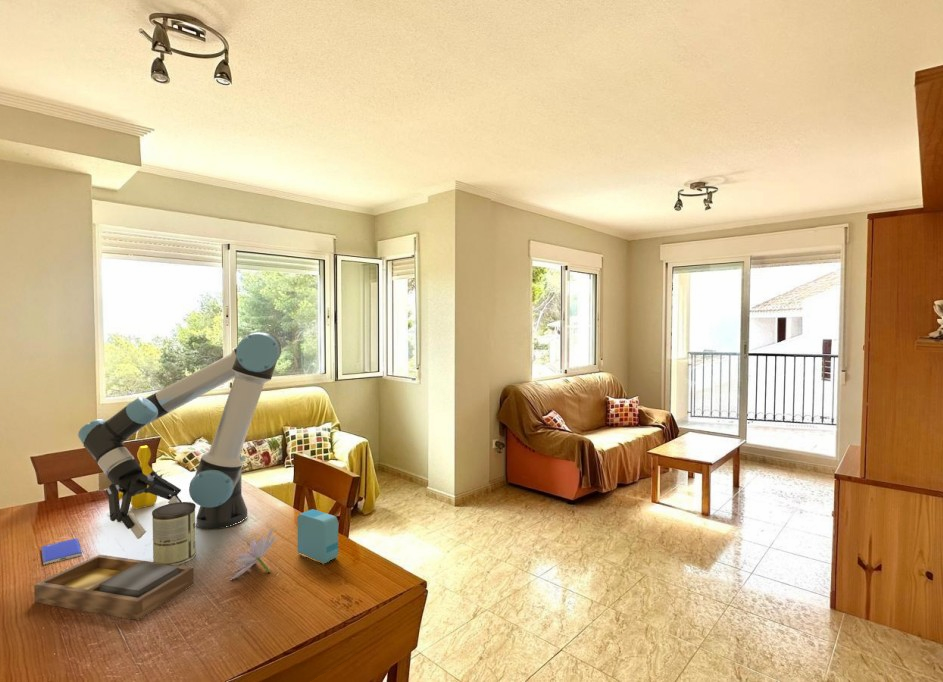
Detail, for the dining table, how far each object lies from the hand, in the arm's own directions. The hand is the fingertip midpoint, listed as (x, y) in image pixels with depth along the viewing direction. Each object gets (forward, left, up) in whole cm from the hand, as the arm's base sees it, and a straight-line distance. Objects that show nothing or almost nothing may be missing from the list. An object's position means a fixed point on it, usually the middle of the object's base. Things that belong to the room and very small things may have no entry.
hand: (164, 525), depth 134 cm
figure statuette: (+20, -47, -10) cm, 53 cm away
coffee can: (-3, +1, -10) cm, 10 cm away
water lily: (-25, +14, -10) cm, 30 cm away
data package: (-41, +11, -10) cm, 43 cm away
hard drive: (+29, -12, -10) cm, 33 cm away
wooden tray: (+5, +17, -9) cm, 20 cm away
